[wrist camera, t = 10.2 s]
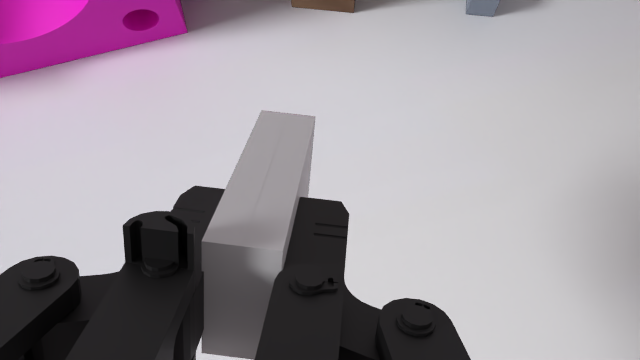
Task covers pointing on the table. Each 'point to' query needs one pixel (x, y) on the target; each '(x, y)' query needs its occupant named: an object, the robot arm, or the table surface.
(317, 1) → the t block
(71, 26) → the toy block
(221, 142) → the table surface
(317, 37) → the table surface
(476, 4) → the pocket
